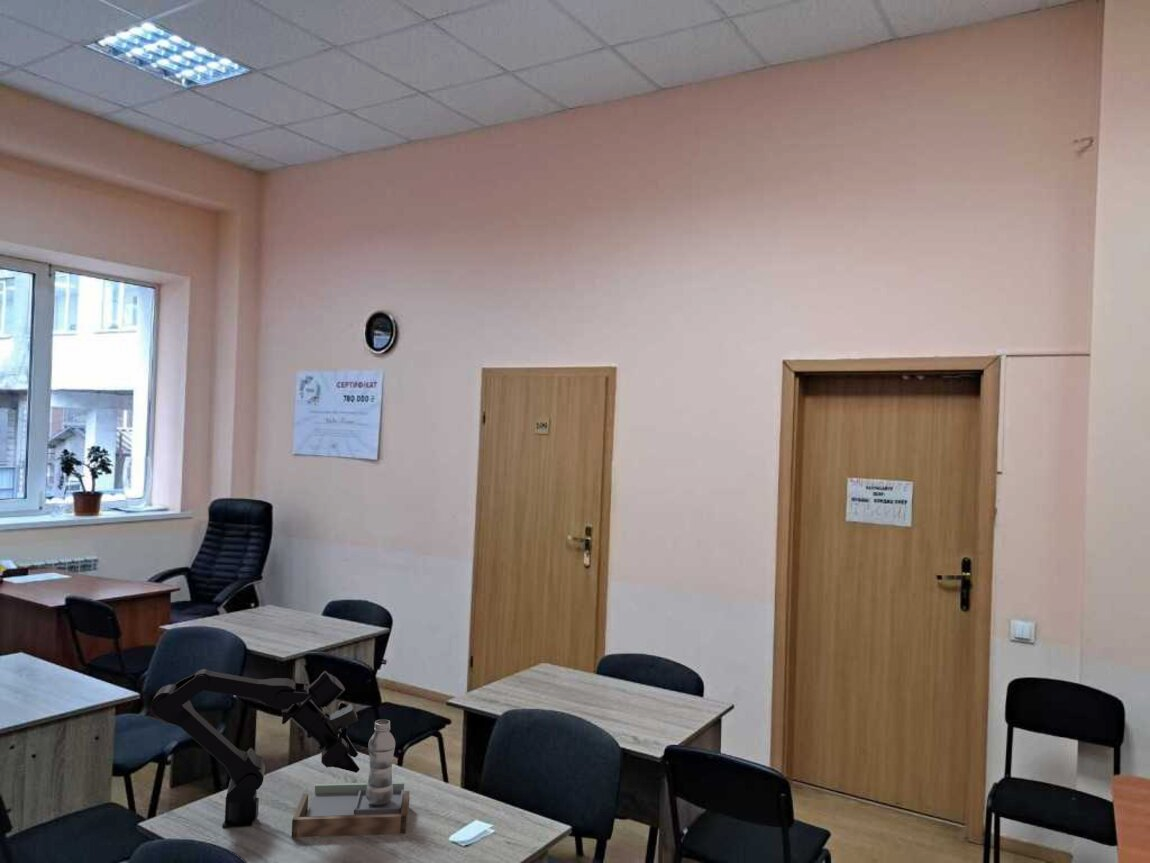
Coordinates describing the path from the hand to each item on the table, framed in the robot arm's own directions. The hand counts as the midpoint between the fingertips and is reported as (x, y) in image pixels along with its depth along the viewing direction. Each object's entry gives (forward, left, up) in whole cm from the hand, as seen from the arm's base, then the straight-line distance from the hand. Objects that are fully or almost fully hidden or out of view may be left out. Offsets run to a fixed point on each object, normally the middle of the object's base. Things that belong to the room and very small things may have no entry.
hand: (357, 763), depth 196 cm
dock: (0, -6, -11) cm, 13 cm away
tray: (0, +1, -11) cm, 11 cm away
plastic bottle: (+6, +1, -10) cm, 12 cm away
